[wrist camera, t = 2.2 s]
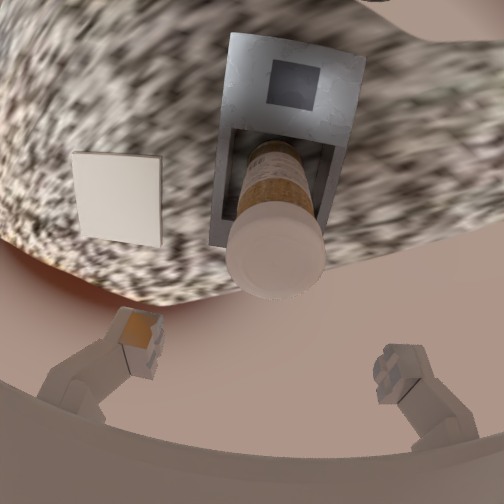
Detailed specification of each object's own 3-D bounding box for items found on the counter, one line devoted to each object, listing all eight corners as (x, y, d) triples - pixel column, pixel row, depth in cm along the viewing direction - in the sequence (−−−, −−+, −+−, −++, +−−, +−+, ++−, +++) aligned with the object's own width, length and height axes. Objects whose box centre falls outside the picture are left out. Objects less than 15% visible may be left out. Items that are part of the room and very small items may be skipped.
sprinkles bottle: (268, 199, 27) (262, 316, 16) (235, 158, 25) (202, 254, 14) (313, 172, 25) (344, 277, 14) (283, 127, 23) (292, 200, 12)
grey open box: (237, 36, 19) (230, 32, 16) (352, 57, 19) (367, 57, 16) (216, 220, 28) (208, 245, 25) (310, 234, 28) (315, 261, 25)
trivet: (74, 151, 25) (71, 153, 24) (161, 156, 25) (159, 158, 24) (84, 232, 30) (82, 235, 29) (162, 244, 30) (160, 247, 29)
